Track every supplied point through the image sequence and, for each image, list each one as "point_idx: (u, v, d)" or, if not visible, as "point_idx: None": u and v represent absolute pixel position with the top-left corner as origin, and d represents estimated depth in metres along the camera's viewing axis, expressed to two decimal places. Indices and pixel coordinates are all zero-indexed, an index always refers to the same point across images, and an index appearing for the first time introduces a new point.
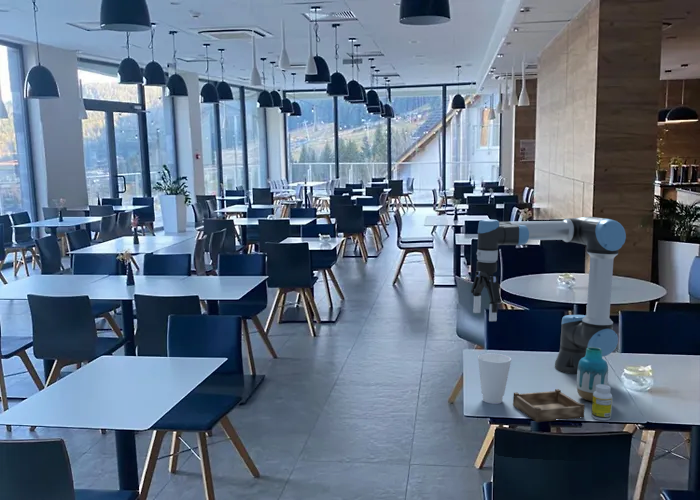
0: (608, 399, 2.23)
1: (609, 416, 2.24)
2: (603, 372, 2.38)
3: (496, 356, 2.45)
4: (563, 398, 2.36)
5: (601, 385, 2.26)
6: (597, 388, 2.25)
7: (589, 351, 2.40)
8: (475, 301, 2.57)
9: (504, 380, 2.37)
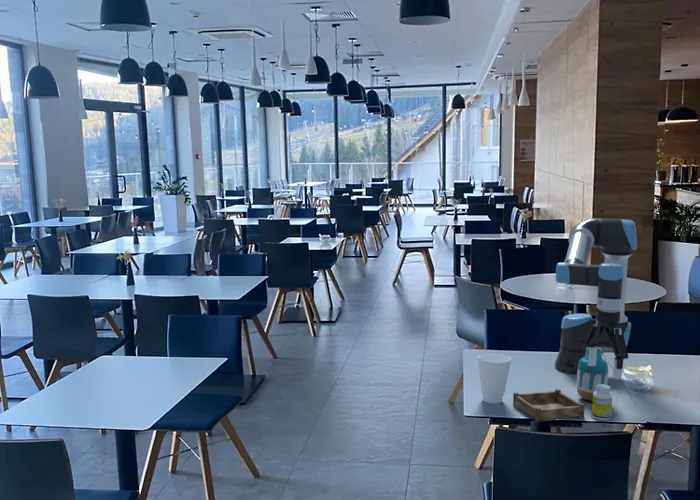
0: (608, 399, 2.23)
1: (609, 416, 2.24)
2: (603, 372, 2.38)
3: (496, 356, 2.45)
4: (563, 398, 2.36)
5: (601, 385, 2.26)
6: (597, 388, 2.25)
7: None
8: (591, 353, 2.30)
9: (504, 380, 2.37)
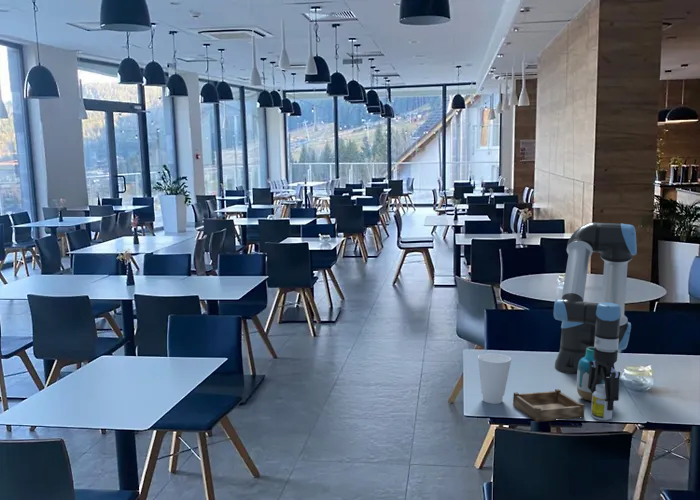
0: None
1: None
2: None
3: (496, 356, 2.45)
4: (563, 398, 2.36)
5: (601, 385, 2.26)
6: (597, 388, 2.25)
7: (589, 351, 2.40)
8: None
9: (504, 380, 2.37)
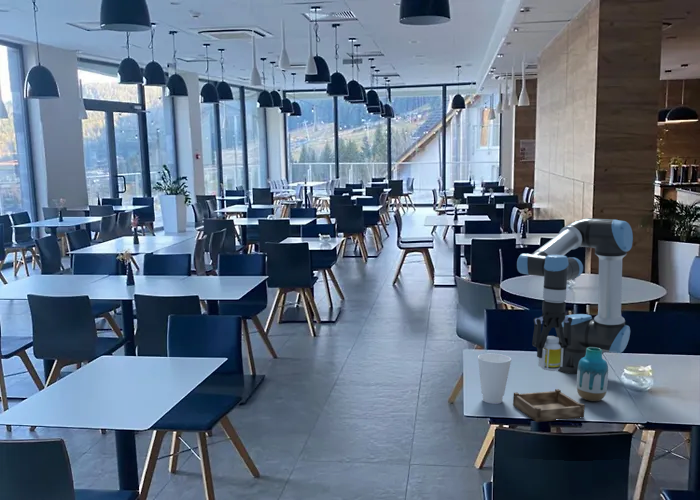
0: None
1: None
2: (603, 372, 2.38)
3: (496, 356, 2.45)
4: (563, 398, 2.36)
5: (554, 337, 2.28)
6: None
7: (589, 351, 2.40)
8: None
9: (504, 380, 2.37)
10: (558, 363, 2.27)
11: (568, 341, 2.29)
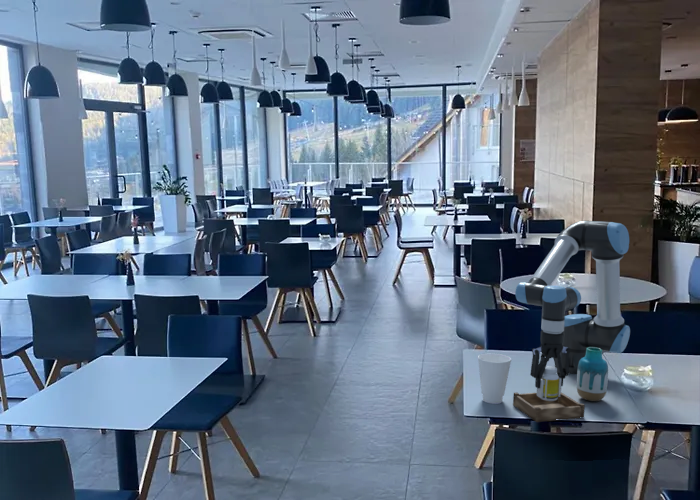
0: None
1: (543, 396, 2.29)
2: (603, 372, 2.38)
3: (496, 356, 2.45)
4: (563, 398, 2.36)
5: (552, 367, 2.30)
6: None
7: (589, 351, 2.40)
8: None
9: (504, 380, 2.37)
10: (556, 393, 2.28)
11: (566, 371, 2.30)
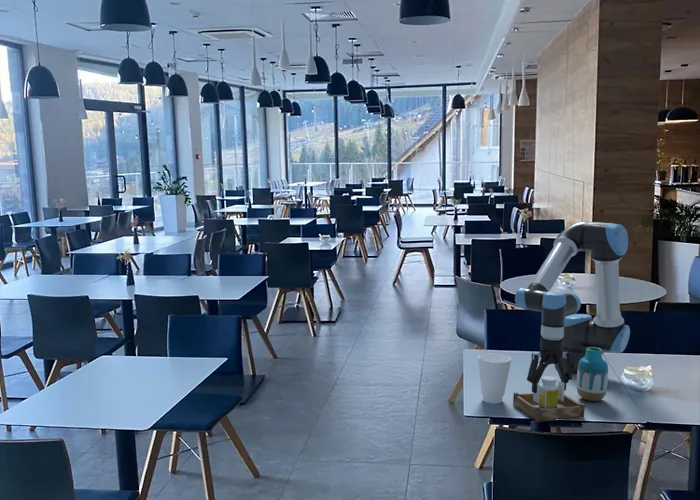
0: (540, 389, 2.30)
1: (542, 407, 2.30)
2: (603, 372, 2.38)
3: (496, 356, 2.45)
4: None
5: (551, 378, 2.30)
6: None
7: (589, 351, 2.40)
8: (558, 386, 2.33)
9: (504, 380, 2.37)
10: (556, 404, 2.29)
11: (569, 376, 2.31)
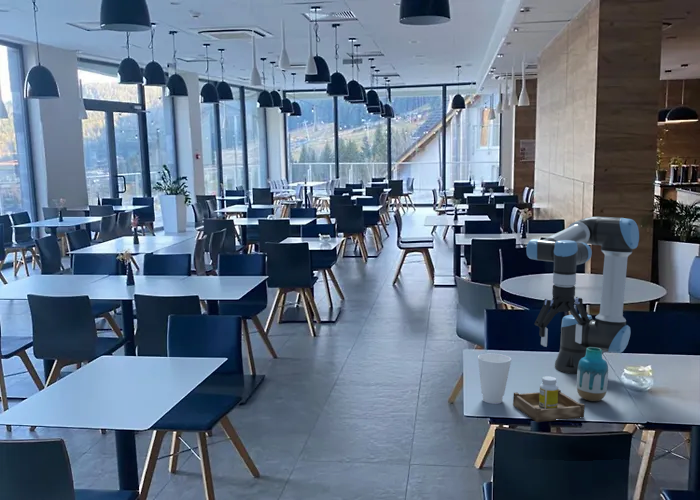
0: (540, 389, 2.30)
1: (542, 407, 2.30)
2: (603, 372, 2.38)
3: (496, 356, 2.45)
4: (563, 398, 2.36)
5: (552, 378, 2.30)
6: None
7: (589, 351, 2.40)
8: (576, 329, 2.36)
9: (504, 380, 2.37)
10: (556, 404, 2.29)
11: (586, 319, 2.34)
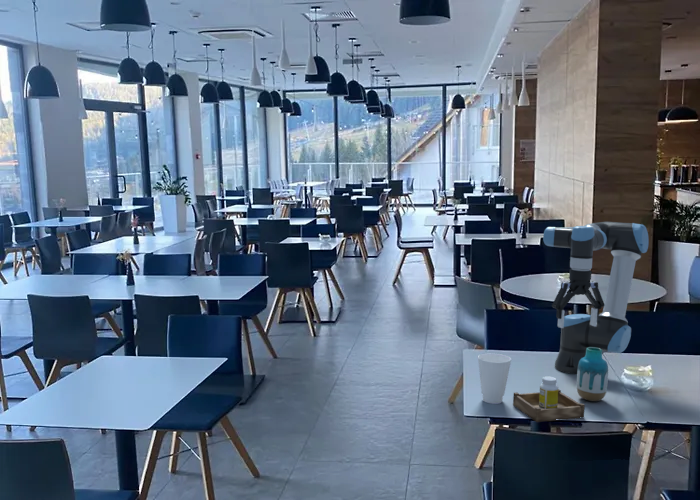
0: (541, 389, 2.30)
1: (542, 407, 2.30)
2: (603, 372, 2.38)
3: (496, 356, 2.45)
4: (563, 398, 2.36)
5: (552, 378, 2.30)
6: None
7: (589, 351, 2.40)
8: (591, 313, 2.45)
9: (504, 380, 2.37)
10: (556, 404, 2.29)
11: (601, 303, 2.43)
